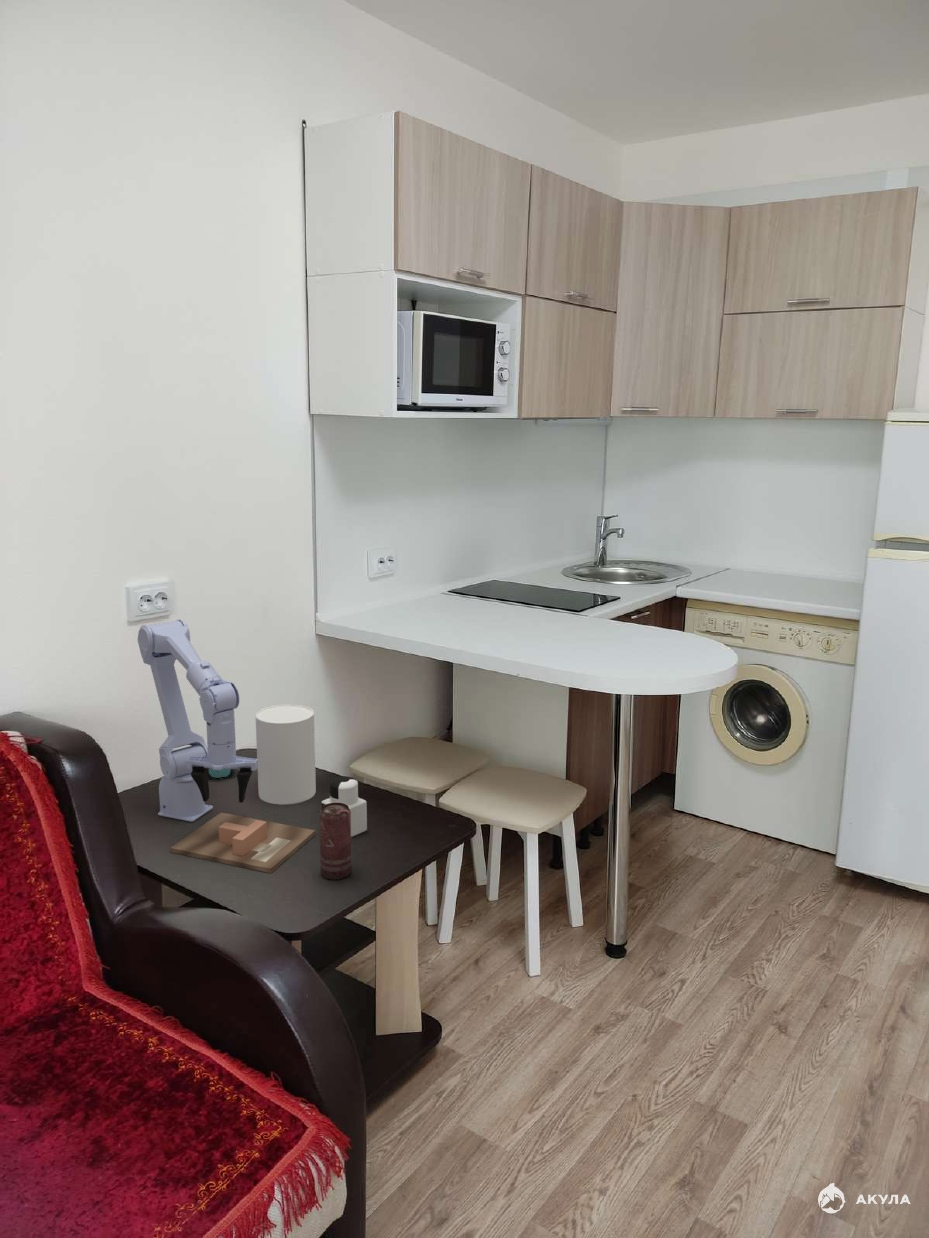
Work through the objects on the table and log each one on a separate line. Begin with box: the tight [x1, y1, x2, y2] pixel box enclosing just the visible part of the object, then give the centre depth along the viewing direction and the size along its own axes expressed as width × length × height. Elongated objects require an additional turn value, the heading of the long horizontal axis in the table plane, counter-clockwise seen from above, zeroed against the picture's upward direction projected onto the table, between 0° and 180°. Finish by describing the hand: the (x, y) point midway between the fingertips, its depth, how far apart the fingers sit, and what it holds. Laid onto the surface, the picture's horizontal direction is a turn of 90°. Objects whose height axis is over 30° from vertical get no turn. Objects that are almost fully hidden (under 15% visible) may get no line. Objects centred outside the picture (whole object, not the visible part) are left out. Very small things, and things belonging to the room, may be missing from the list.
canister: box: [255, 703, 317, 806], centre depth 215 cm, size 14×14×20 cm
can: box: [319, 803, 352, 880], centre depth 179 cm, size 6×6×14 cm
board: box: [169, 812, 316, 874], centre depth 192 cm, size 24×18×1 cm
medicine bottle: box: [321, 775, 368, 838], centre depth 197 cm, size 7×7×12 cm
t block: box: [219, 819, 267, 856], centre depth 190 cm, size 8×9×4 cm
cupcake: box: [208, 754, 238, 778], centre depth 226 cm, size 9×8×12 cm
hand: (224, 800), depth 192 cm, fingers open, 7 cm apart
